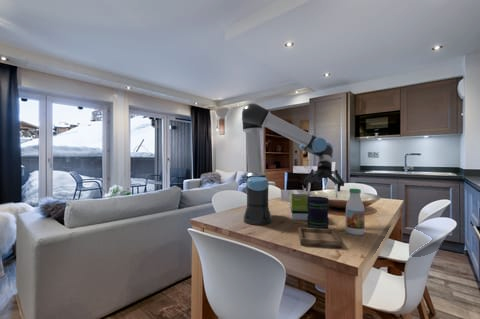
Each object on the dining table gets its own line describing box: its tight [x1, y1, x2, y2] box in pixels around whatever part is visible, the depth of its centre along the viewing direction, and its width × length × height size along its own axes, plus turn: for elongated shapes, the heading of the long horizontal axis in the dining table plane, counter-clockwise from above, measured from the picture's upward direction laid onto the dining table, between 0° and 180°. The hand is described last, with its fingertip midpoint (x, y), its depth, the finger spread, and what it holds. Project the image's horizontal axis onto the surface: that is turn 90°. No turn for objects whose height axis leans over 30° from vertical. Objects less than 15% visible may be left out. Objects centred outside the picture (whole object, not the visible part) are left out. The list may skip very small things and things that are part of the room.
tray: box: [297, 226, 343, 249], centre depth 94 cm, size 15×15×2 cm
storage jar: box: [306, 195, 330, 229], centre depth 108 cm, size 10×10×15 cm
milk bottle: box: [345, 188, 366, 236], centre depth 103 cm, size 8×8×20 cm
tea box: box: [289, 189, 311, 221], centre depth 131 cm, size 15×10×15 cm
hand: (322, 195), depth 115 cm, fingers open, 13 cm apart
